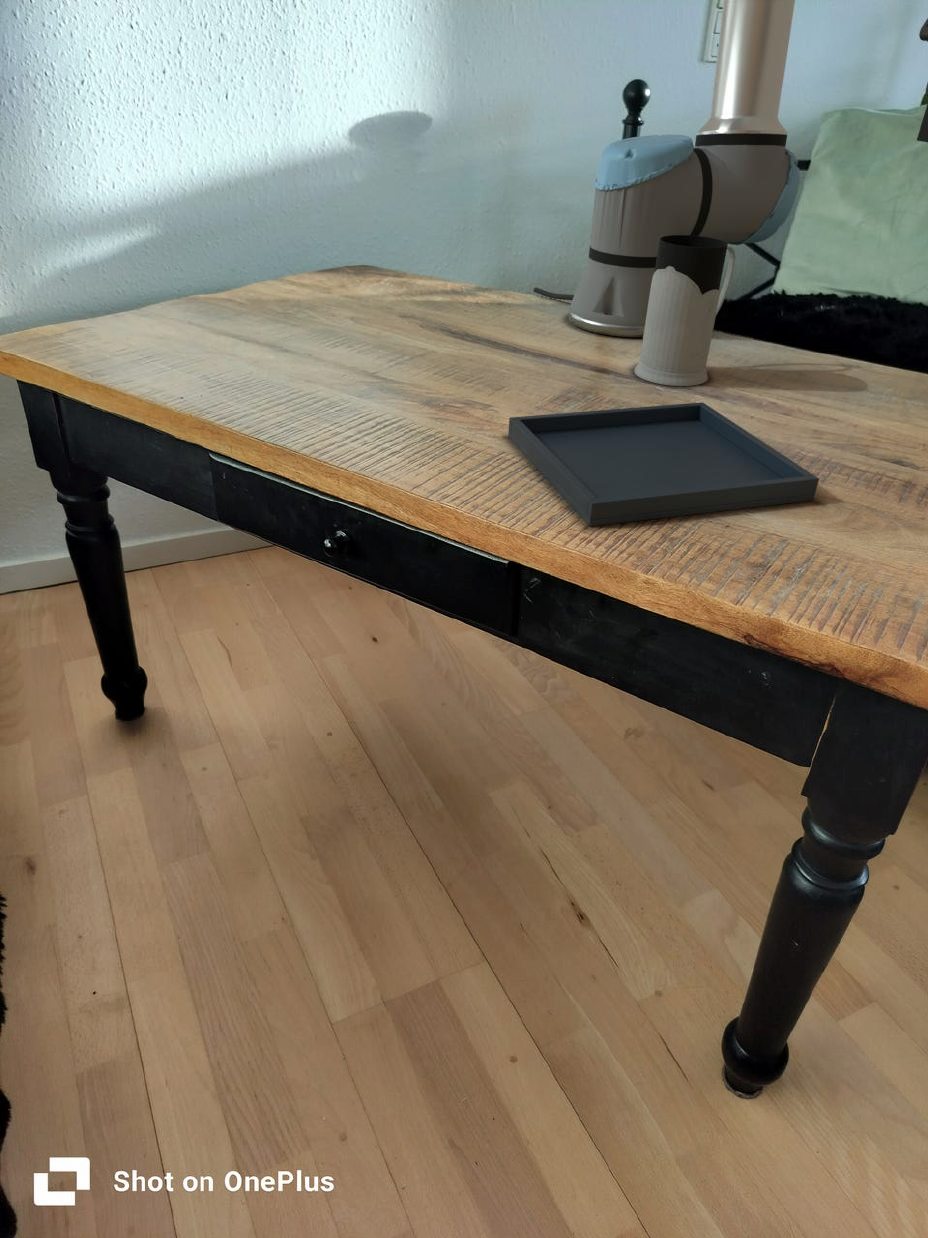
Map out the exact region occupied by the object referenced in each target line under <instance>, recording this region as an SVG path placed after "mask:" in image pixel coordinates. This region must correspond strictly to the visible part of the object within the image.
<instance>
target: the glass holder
mask: <svg viewBox="0 0 928 1238" xmlns="http://www.w3.org/2000/svg"><path fill="white" fill-rule="evenodd" d="M727 251H728V256H729V257H728V265H727V266H728V267H727V270H726V275H725V278H724V282H723V285H722V288H721V282H722V277H723V272H724V267H725V262H726V256H727ZM735 262H736V251H735V249H734V247H732V245H729V244H728V243H726V242H724V241H722V240H719V239H714V238H709V237H702V236H692V235H670V236H664V237H661V238H660V240H659V247H658V253H657V260H656V266H655V273H654V275H653V277H652V283H651V289H650V296H649V303H648V309H647V316H646V322H645V329H644V336H643V337H642V343H641V350H640V356H639V360H638V363H637V364H636V366H635V367H634V374H635V376H638V377H639V378H640V379H642V380H644V381H647V382H650V383H654V384H657V385H662V386H663V385H664V386H672V387H693V386H698V385H701V384H704V383H706V382H707V381H708V377H709V376H708V371H707V363H708V358H709V352H710V349H711V342H712V338H713V332H714V327H715V322H716V317H717V315H718V313H719V311H720V310H721V308H722V306H723V304H724V301H725V299H726V296H727V294H728V291H729V288H730V285H731V281H732V278H733V274H734V269H735ZM720 288H721V290H720Z"/></svg>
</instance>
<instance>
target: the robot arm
mask: <svg viewBox="0 0 928 1238" xmlns="http://www.w3.org/2000/svg"><path fill="white" fill-rule="evenodd" d="M795 3H796V0H723V2H722V9H721V19H720V28H719V35H718V36H719V37H718V44H717V51H716V52H717V54H716V61H715V71H714V79H713V87H712V95H711V97H712V98H711V102H710V103H711V104H710V112H709V119H707V121H706V122H705V124H704V125H703V126H702V127H701V128H700V129H699V130H698V131H697V132H696V134H695V143H694V140H693V139H692V137H690V136H688V135H683V134H660V135H659V134H651V135H650V134H649V135H640V136H634V137H629V138H622V139H619V140H616V141H613V142H611V143H609V144H608V145H606V147H604V149H603V150H602V151H601V154H600V157H599V162H598V163H599V164H598V168H597V175H596V179H595V180H594V187H595V190H594V201H593V209H592V218H591V219H592V221H591V230H590V239H589V249H588V256H587V264H586V266H585V268H584V271H583V274H582V276H581V278H580V281H579V283H578V286H577V288H576V290H575V293H574V294H567V293H566V294H565V293H555V292H551V291H548V290H545V289H541V288H539V287H534V288H533V292H534V293H536V294H539V295H541V296H543V297H546V298H550V299H552V300H553V299H554V300H560V301H561V300H564V301H571V303H570V307H569V313H568V314H569V315H568V320H569V322H570V323H571V324H573V325H574V326H575V327H578V328H579V329H582V330H584V331H588V332H591V333H595V334H600V335H608V336H612V337H613V336H614V337H624V338H643V336H644V329H645V322H646V316H647V309H648V303H649V296H650V289H651V283H652V277H653V275H654V273H655V266H656V260H657V253H658V247H659V240H660V238H661V237H664V236H670V235H692V236H702V237H709V238H714V239H719V240H722V241H724V242H726V243H728V245H730V246H740V245H744V244H755V243H760V242H764V241H766V240H768V239H769V238H771V237H772V236H774V235H775V234H776V233H777V232H778V230H779V229H780V227H782V226H783V225H784V223H785V222H786V221H787V219H788V218H789V216H790V214H791V211H792V210H793V207H794V204H795V202H796V199H797V197H798V196H797V195H798V191H799V188H800V181H801V180H800V179H801V177H800V176H801V170H800V167H798V164H799V161H798V158H797V156H796V155H795V153H793V152H792V151H791V150H790V149H788V148H786V146H787V140H788V131H787V130H786V128H785V127H784V126H783V124H782V123H781V122H780V120H779V113H780V104H781V98H782V93H783V92H782V91H783V84H784V77H785V72H786V65H787V59H788V51H789V45H790V38H791V37H790V36H791V31H792V23H793V16H794V10H795ZM918 35H919V36H918V37H919V39H920V41H923V42H927V43H928V17H927V19H926V20H925V21H924V23H923V24H922V26H921V28H920V30H919V34H918ZM925 97H928V82H927V83H926V86H925ZM916 141H917V142H922V143H928V103H927V104H926V107H925V111H924V114H923V117H922V120H921V124H920V127H919V131H918V135H917V138H916Z"/></svg>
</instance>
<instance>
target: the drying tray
mask: <svg viewBox="0 0 928 1238" xmlns="http://www.w3.org/2000/svg"><path fill="white" fill-rule="evenodd" d="M508 420H509V421H508V433H507V438H508V439H509V440H510V441H511V442H512V444H513V445H514V446H515V447H516V448H517V449H518V450H519V451H520V452H521V454H522V455H523V456H524V457H525V458H526V459H527V460H528V461H529V462H530V463H531V464H532V466H533V467H534V468H535V469H536V470H537V471H538V472H539V473H540V474H541V476H542V477H544V478H545V479H546V481H547V483H549V484H550V485H551V486H552V487H553V489H554V490H556V492H557V493H558V494H559V495H560V496H561V498H563V499H564V500H565V502H566V503H567V504H568V505H569V507H570V508H572V509H573V511H575V513H576V514H577V515H578V516H579V517H580V518H581V519H582V520H583V521H584V523H586V525H587V526H588V527H598V526H606V525H614V524H622V523H623V524H624V523H631V522H641V521H649V520H656V519H657V520H659V519H666V518H673V517H682V516H690V515H691V516H692V515H700V514H708V513H716V512H726V511H734V510H743V509H751V508H760V507H767V506H776V505H784V504H793V503H794V504H795V503H800V502H802V503H803V502H810V501H814V498H815V496H816V492H817V488H818V485H819V481H820V478H819V477H817V476H816V475H815V474H813V473H811V472H810V471H808V470H807V469H805V468H804V467H802V466H801V465H799V464H798V463H796V462H795V461H793V460H792V459H790V458H788V457H787V456H785V455H784V454H782V453H781V452H779V451H777V449H775V448H774V447H772V446H770V445H769V444H767V443H766V442H764V441H763V440H761V439H759V438H758V437H756V436H755V435H753V434H752V433H750V432H749V431H748V430H746V429H745V428H744V427H741V426H740V425H738V424H737V423H735V422H733V421H732V420H731V419H729V418H728V417H726V416H724V415H723V414H721V413H720V412H718V411H717V410H715V409H714V408H712V406H711V407H710V406H709V405H708V404H706V403H704V402H701V401H700V402H690V403H688V402H687V403H678V404H677V403H676V404H666V405H665V404H664V405H663V404H662V405H650V406H637V407H625V408H613V409H601V410H589V411H587V410H586V411H574V412H563V413H561V412H560V413H550V414H549V413H547V414H538V415H537V414H536V415H525V416H524V415H523V416H510V417H509V419H508Z"/></svg>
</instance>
